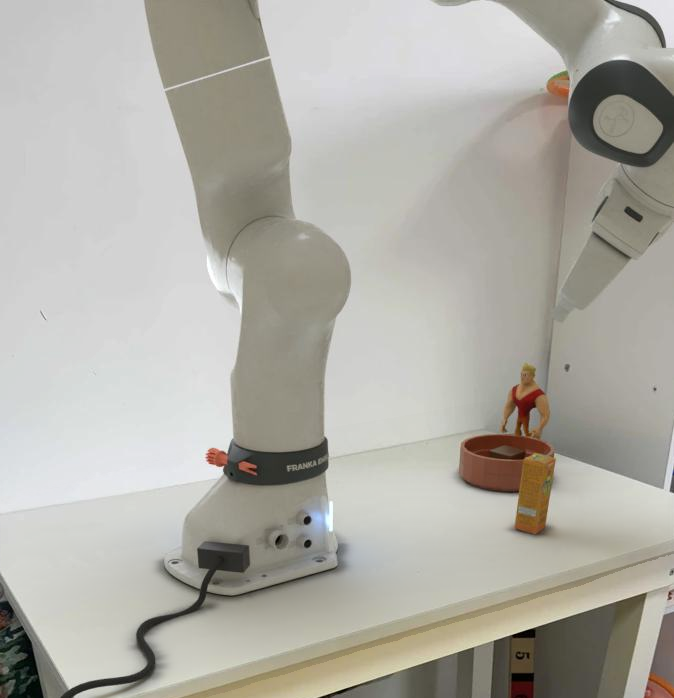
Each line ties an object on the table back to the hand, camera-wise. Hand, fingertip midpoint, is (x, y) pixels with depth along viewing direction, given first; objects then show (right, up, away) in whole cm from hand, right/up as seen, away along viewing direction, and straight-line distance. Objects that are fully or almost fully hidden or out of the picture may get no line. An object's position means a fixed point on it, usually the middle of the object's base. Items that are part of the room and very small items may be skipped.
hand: (566, 300), depth 108 cm
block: (-2, -18, +28) cm, 33 cm away
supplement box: (-2, -28, +10) cm, 29 cm away
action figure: (+3, -12, +40) cm, 42 cm away
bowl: (-2, -18, +28) cm, 34 cm away
